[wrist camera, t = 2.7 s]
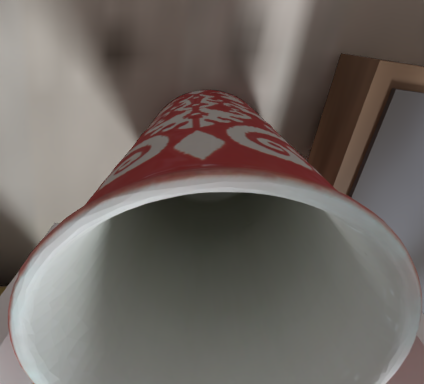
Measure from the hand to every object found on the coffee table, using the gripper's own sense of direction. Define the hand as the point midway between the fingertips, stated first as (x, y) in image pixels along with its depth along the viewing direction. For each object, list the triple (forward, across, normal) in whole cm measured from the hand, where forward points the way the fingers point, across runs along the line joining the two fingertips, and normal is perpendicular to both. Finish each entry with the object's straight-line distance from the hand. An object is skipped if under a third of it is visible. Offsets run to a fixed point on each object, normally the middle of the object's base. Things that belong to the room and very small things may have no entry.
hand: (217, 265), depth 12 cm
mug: (+9, 0, 0) cm, 9 cm away
